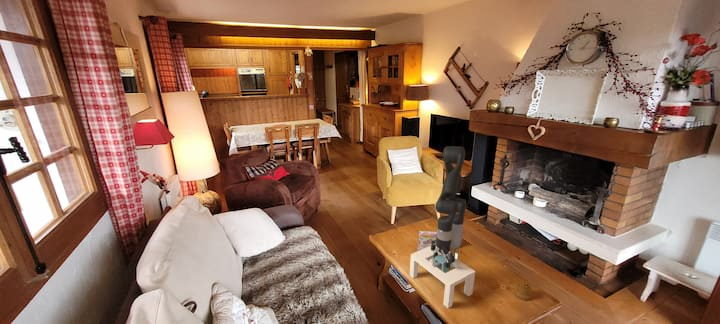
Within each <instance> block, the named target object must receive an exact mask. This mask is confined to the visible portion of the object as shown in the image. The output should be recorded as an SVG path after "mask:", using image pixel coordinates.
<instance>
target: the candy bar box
mask: <svg viewBox="0 0 720 324" xmlns="http://www.w3.org/2000/svg"><path fill="white" fill-rule="evenodd" d="M436 235H437V231H429V230H428V231H426V230H425V231H424V230H419V232H418V242H417V243H418V244H417V251H420V250H422V249H425V248H427V247H429V246H431V243H432V241H433V240H436Z"/></svg>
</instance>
